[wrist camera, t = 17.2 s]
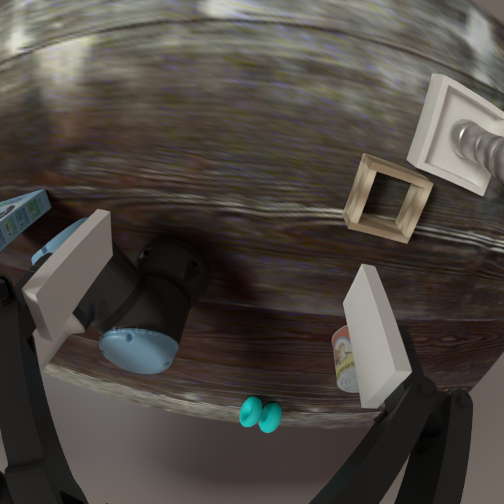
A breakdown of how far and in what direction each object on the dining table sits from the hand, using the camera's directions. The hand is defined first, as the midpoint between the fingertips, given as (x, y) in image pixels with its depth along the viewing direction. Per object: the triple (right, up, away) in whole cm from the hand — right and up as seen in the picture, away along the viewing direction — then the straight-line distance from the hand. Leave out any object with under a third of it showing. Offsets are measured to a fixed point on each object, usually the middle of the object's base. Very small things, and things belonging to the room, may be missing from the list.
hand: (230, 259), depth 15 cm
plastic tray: (+36, +21, +25) cm, 48 cm away
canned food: (+25, -20, +52) cm, 62 cm away
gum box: (-51, +11, +39) cm, 66 cm away
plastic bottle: (+36, +20, +24) cm, 48 cm away
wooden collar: (+23, +10, +33) cm, 41 cm away
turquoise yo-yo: (+4, -45, +71) cm, 84 cm away
